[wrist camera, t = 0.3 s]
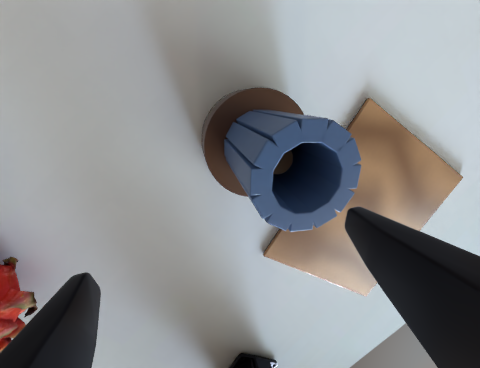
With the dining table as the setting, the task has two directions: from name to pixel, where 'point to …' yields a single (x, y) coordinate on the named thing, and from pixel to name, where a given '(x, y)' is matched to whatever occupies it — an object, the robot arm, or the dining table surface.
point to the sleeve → (293, 166)
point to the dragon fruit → (12, 303)
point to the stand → (228, 113)
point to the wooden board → (371, 200)
